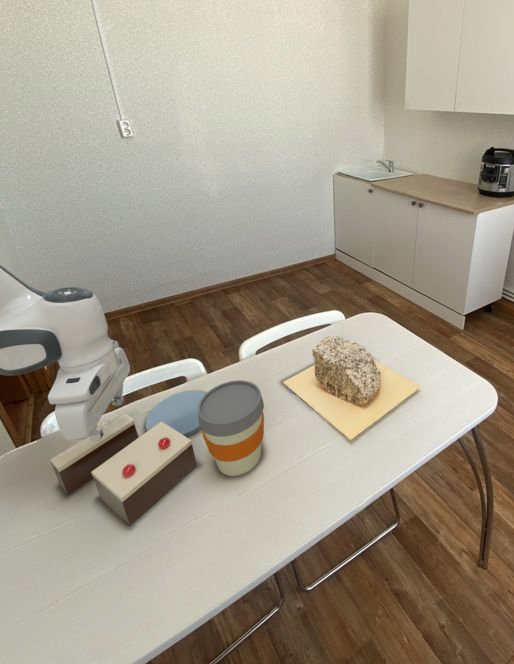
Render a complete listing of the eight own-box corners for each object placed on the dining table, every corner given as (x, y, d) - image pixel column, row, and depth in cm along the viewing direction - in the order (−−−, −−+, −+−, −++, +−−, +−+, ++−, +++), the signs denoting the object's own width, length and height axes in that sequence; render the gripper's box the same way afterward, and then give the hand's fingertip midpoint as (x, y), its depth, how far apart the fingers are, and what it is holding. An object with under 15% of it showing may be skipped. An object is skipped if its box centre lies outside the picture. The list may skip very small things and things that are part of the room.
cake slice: (60, 486, 76) (49, 459, 73) (132, 437, 86) (125, 413, 84) (68, 495, 74) (57, 468, 71) (140, 444, 85) (133, 420, 82)
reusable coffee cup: (233, 427, 89) (224, 374, 84) (280, 441, 85) (274, 387, 79) (194, 473, 78) (181, 415, 72) (246, 492, 74) (236, 432, 68)
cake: (100, 498, 73) (88, 465, 70) (167, 445, 84) (159, 414, 81) (130, 526, 68) (118, 491, 65) (197, 465, 79) (189, 433, 76)
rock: (280, 382, 102) (300, 324, 103) (336, 383, 118) (354, 332, 118) (348, 440, 83) (373, 367, 83) (406, 432, 98) (426, 371, 99)
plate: (133, 425, 90) (131, 421, 89) (188, 386, 102) (187, 383, 101) (172, 452, 83) (171, 448, 82) (227, 407, 95) (226, 403, 94)
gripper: (98, 337, 84) (114, 388, 88) (41, 404, 65) (64, 464, 69) (129, 334, 85) (143, 384, 89) (81, 399, 66) (102, 459, 70)
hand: (108, 420), depth 79 cm, fingers open, 8 cm apart
